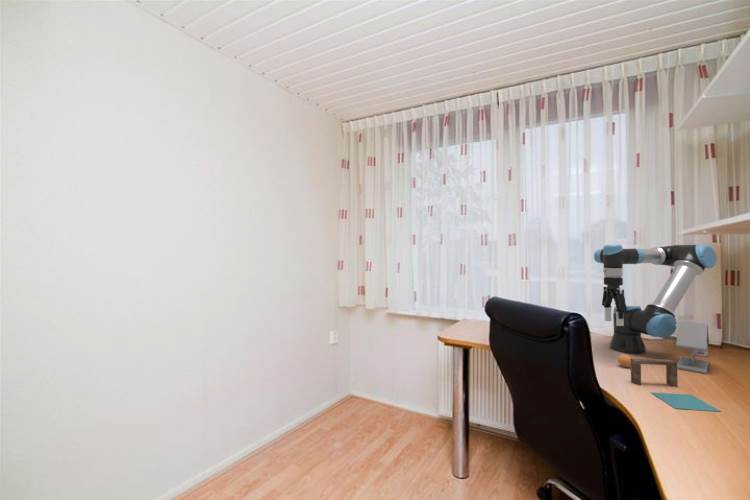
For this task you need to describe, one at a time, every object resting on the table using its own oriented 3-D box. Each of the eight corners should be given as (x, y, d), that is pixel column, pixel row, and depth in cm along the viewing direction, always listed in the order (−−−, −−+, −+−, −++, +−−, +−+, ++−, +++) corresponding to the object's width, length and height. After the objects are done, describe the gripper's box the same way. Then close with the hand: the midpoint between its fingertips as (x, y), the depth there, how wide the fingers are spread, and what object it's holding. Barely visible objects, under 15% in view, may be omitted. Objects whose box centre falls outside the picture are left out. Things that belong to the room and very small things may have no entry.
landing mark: (650, 392, 124) (650, 392, 124) (691, 395, 122) (690, 394, 122) (675, 408, 111) (675, 408, 111) (721, 411, 109) (721, 411, 109)
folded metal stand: (706, 374, 142) (705, 327, 142) (676, 369, 149) (675, 323, 149) (709, 364, 155) (708, 320, 155) (681, 360, 162) (680, 318, 162)
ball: (615, 364, 155) (615, 352, 155) (628, 365, 154) (628, 353, 154) (622, 368, 150) (621, 356, 150) (635, 369, 149) (635, 356, 149)
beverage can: (700, 353, 172) (699, 323, 172) (711, 356, 166) (710, 326, 166) (689, 353, 172) (688, 323, 172) (699, 356, 166) (699, 326, 166)
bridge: (631, 381, 135) (630, 358, 135) (672, 383, 133) (671, 360, 133) (635, 384, 132) (635, 360, 132) (677, 386, 130) (677, 362, 130)
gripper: (593, 275, 174) (594, 318, 173) (617, 278, 151) (617, 328, 151) (609, 275, 172) (610, 318, 172) (635, 278, 150) (636, 328, 150)
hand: (613, 323), depth 162 cm, fingers open, 10 cm apart
